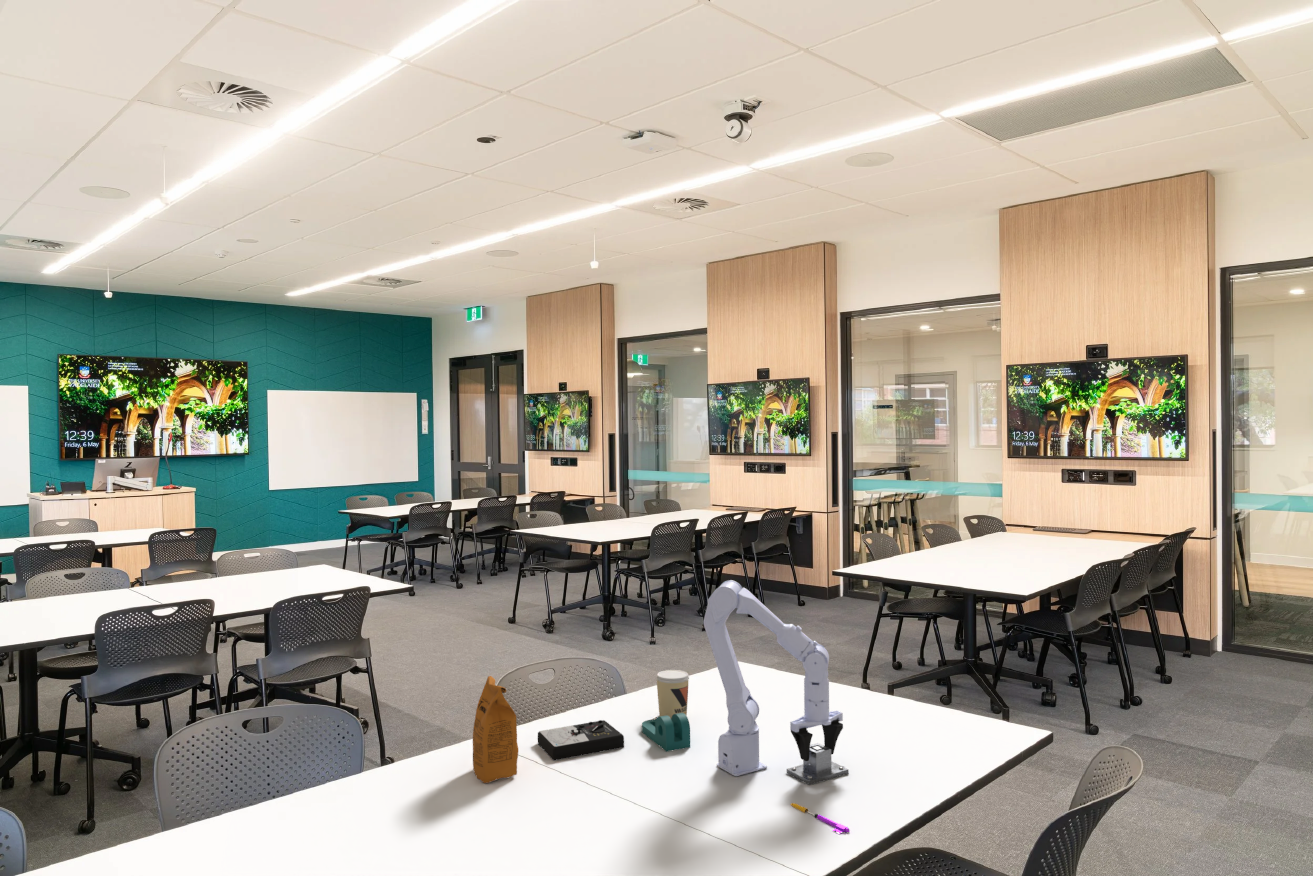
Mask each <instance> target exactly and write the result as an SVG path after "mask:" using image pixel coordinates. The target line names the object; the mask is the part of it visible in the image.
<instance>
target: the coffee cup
mask: <svg viewBox="0 0 1313 876" xmlns="http://www.w3.org/2000/svg"><path fill="white" fill-rule="evenodd" d="M655 677H656V678H655V679H656V689H657V704H658V712H659V713H658V714H659V717H660V716H666V715H668V716H669V717H670V718H672V715H673V714H678V713H684V714H685V715H686V716H687V715H688V714H687V713H688V703H689V702H688V699H689V698H688V697H689V696H688V695H689V680H690V676H689V673H688V672H687V671H684V670H679V669H667V670H662V671H659V672H657V675H656V676H655ZM687 717H688V716H687Z"/></svg>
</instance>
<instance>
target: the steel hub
mask: <svg viewBox="0 0 1313 876" xmlns="http://www.w3.org/2000/svg"><path fill="white" fill-rule="evenodd" d="M816 746H818V747H820V748H822V750H819V751H815V750H813V749H812V747H816ZM802 761H803V762H802V763H803V764H802V765H803V768H804V769H806V770H808V771H810V772H812V773H814V774H816V775H817V774H821V773H824V772H828V771H831V770H832V769H831V761H832V755H831V749H830V748H828V747H826V746H825V745H823V744H821V743H819V742H817V743H813V744H810V756H809V761H804V760H802Z"/></svg>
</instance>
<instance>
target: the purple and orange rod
mask: <svg viewBox="0 0 1313 876" xmlns="http://www.w3.org/2000/svg"><path fill="white" fill-rule="evenodd" d="M790 806H791V807H793V808H794V809H796V810H799V811H800V812H802V813H804V814H805V813H808V814H810V815H812V816H813V817H814V818H816V819H817V820H819V821H821V822H822V823H825V824H827V825H829V826H830V827H831V826H832V827H833V828H834V829H833V830H832V832H833V831H836V832H839V833H841V832H845V833H846V832H849V833H850V831H851V830H850V828H849V827H848V826H846V825H843V824H842V823H838V822H836V821H834V820H832V819H829V818H828V817H826V816H823V815H821V814H818V813H815V814H814V813H812V812H810V811H809V808H807V807H805V806H802V805H799V803H793V802H792V803H790ZM835 827H836V828H835ZM841 834H842V833H841Z"/></svg>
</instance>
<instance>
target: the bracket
mask: <svg viewBox="0 0 1313 876" xmlns="http://www.w3.org/2000/svg"><path fill="white" fill-rule="evenodd" d="M641 732H642V734H643V735H645V737H647V738H648V739H650V740H651V741H652V742H653V743H655V744H656V745H657V746H659V747H660V748H661V749H662V748H663V749H662V750H664V752H666V753H667V752H672V750H673V751H677V750H683V748H684V749H688V748H691V724H690V721H689V718H688V716H686V715H685V714H684V713H678V714H673V715H672V718H670V717H669V716H668V715H666V716H660V715H659V716H657V717H656V719H655V718H654V719H647V720H643V722H641Z"/></svg>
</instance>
